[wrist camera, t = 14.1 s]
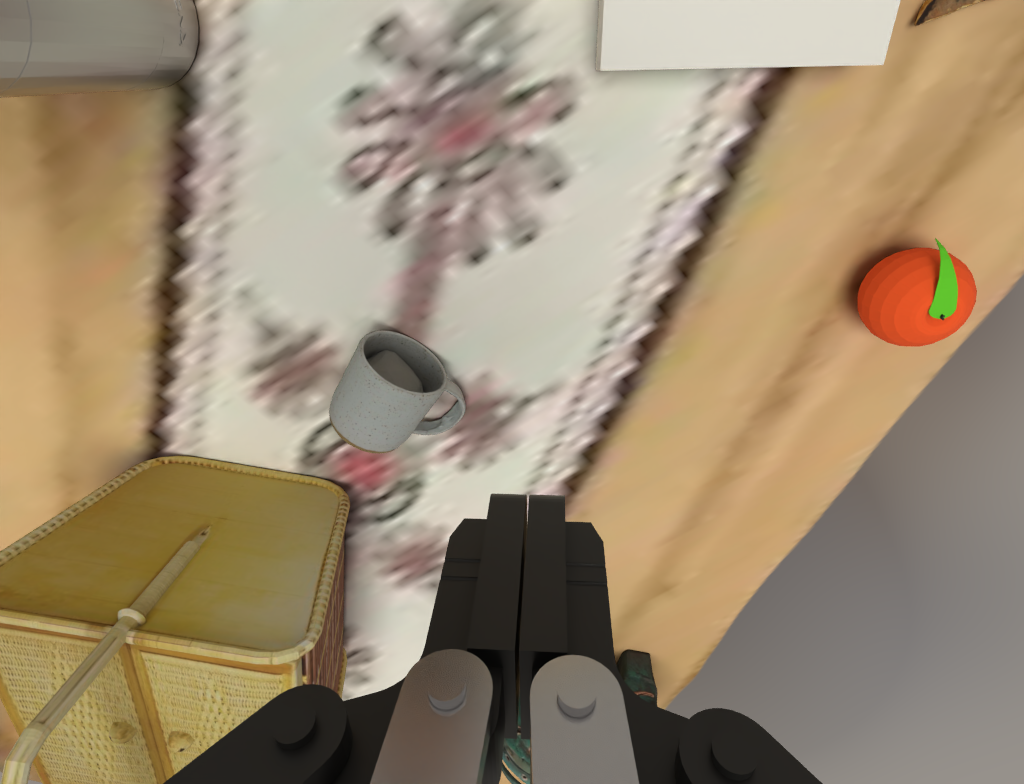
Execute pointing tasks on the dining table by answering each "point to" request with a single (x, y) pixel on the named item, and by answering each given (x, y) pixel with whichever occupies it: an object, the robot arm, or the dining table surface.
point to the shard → (941, 9)
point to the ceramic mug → (391, 393)
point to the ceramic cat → (635, 675)
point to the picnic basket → (167, 616)
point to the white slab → (742, 33)
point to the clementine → (916, 296)
